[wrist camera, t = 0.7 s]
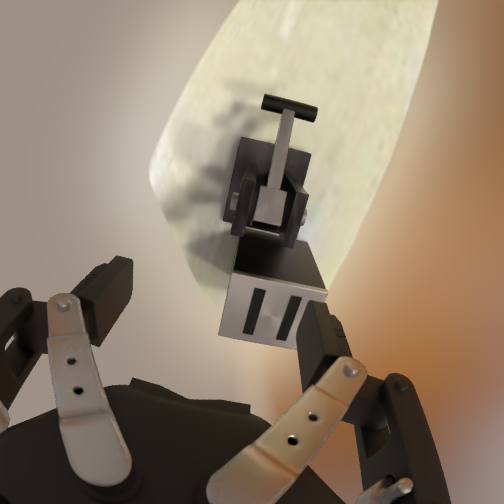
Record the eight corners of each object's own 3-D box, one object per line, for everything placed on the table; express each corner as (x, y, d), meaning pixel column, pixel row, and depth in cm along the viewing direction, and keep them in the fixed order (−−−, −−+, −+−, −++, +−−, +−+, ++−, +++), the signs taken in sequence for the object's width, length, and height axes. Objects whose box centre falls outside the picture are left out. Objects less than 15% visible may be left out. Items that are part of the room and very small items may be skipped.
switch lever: (262, 102, 25) (265, 87, 23) (313, 114, 25) (319, 102, 23) (233, 221, 24) (234, 215, 22) (292, 234, 24) (298, 230, 22)
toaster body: (241, 226, 35) (231, 272, 24) (308, 241, 36) (328, 293, 24) (230, 275, 38) (217, 336, 26) (292, 289, 38) (304, 351, 27)
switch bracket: (241, 136, 31) (230, 136, 19) (309, 153, 32) (338, 164, 20) (223, 218, 35) (204, 263, 23) (288, 232, 35) (301, 284, 24)
